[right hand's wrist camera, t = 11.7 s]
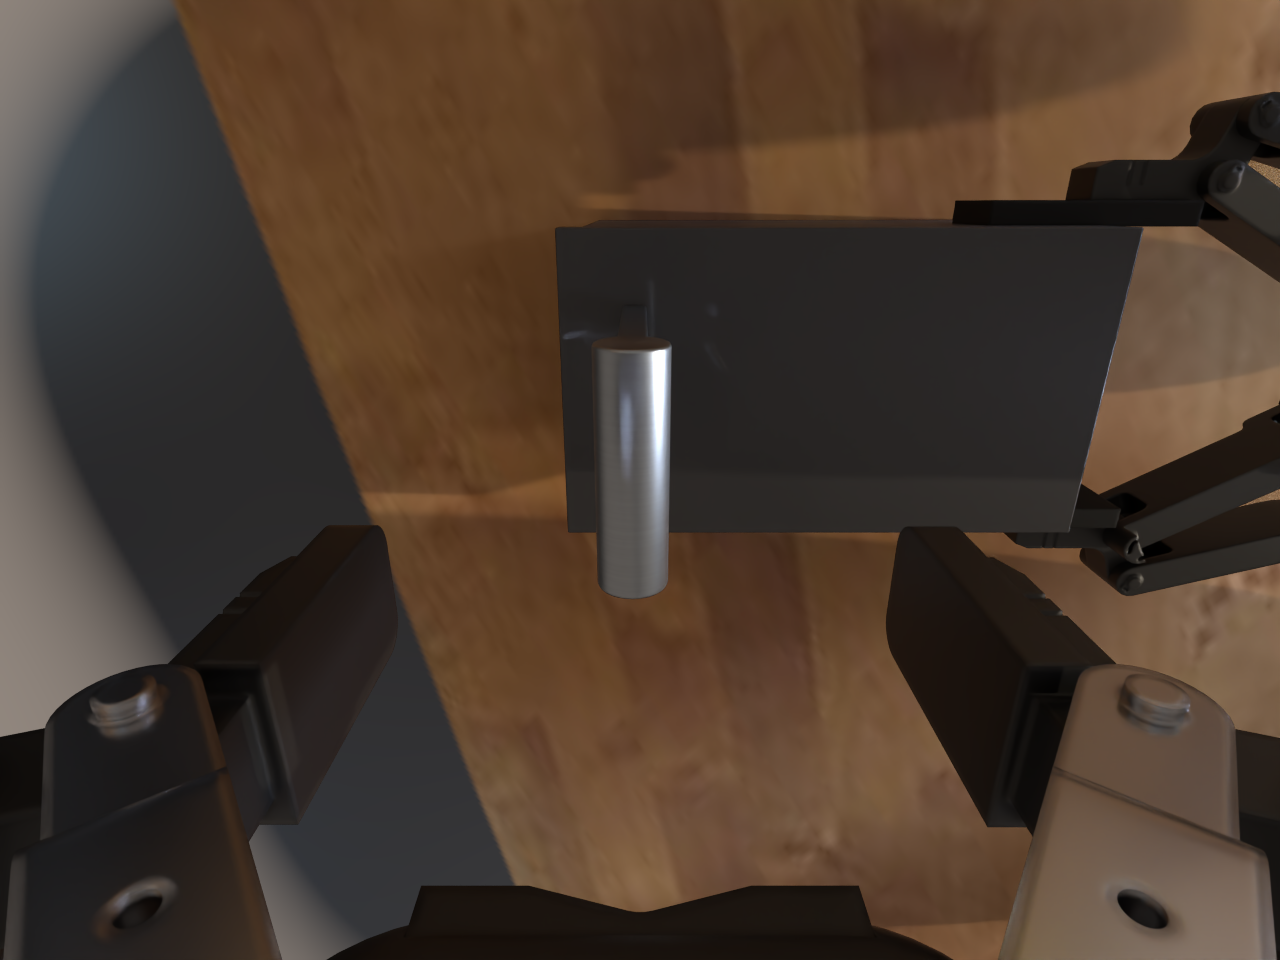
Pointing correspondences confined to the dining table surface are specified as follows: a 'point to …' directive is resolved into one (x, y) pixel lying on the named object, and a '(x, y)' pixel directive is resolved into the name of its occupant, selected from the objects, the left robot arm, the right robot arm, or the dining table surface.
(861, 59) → the dining table surface
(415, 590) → the dining table surface
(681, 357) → the lid
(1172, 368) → the dining table surface
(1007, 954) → the right robot arm
